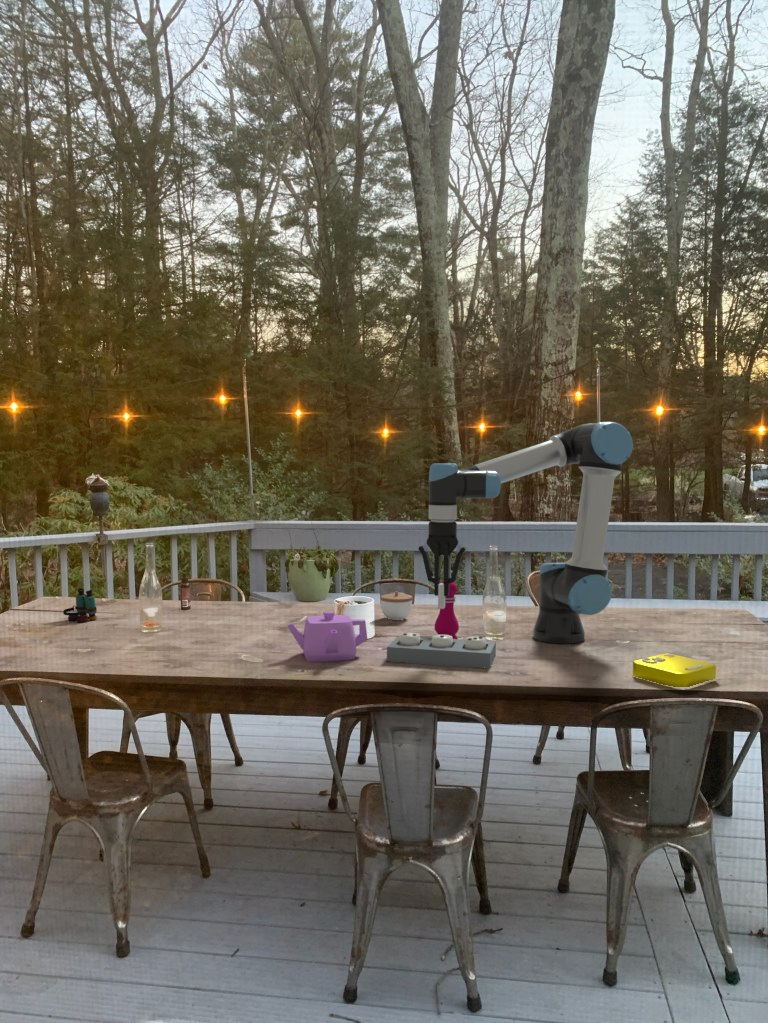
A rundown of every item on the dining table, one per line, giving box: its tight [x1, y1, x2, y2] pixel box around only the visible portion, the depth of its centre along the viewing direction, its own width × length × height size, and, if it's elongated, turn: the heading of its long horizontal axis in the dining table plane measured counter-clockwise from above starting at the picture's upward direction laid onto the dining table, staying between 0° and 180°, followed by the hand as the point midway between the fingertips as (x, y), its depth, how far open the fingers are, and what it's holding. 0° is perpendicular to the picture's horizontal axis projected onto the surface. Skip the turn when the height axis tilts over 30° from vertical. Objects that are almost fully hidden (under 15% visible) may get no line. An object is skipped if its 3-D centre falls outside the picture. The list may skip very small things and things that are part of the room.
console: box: [386, 635, 497, 669], centre depth 207 cm, size 28×13×4 cm, turn 76°
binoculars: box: [63, 587, 98, 624], centre depth 255 cm, size 9×11×10 cm
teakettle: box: [286, 610, 368, 663], centre depth 210 cm, size 17×17×12 cm
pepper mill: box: [434, 579, 460, 639], centre depth 225 cm, size 7×7×20 cm
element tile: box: [632, 652, 717, 687], centre depth 188 cm, size 15×15×5 cm
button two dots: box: [399, 632, 421, 646], centre depth 209 cm, size 6×6×4 cm
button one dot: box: [431, 634, 453, 648], centre depth 207 cm, size 6×6×4 cm
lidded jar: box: [380, 590, 413, 621], centre depth 258 cm, size 11×11×9 cm
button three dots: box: [464, 635, 487, 650], centre depth 204 cm, size 6×6×4 cm
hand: (441, 607), depth 206 cm, fingers closed
